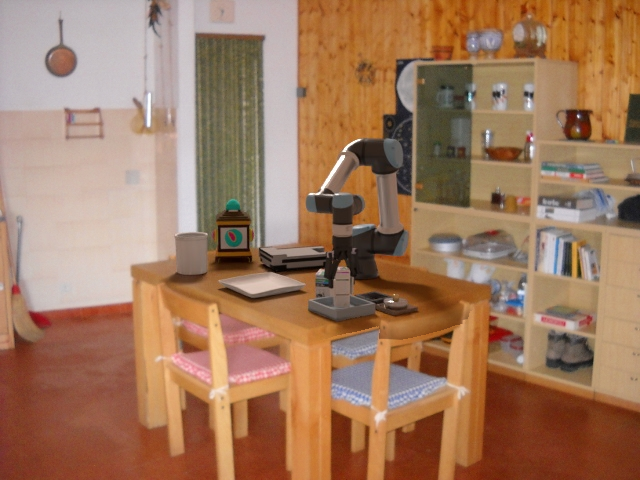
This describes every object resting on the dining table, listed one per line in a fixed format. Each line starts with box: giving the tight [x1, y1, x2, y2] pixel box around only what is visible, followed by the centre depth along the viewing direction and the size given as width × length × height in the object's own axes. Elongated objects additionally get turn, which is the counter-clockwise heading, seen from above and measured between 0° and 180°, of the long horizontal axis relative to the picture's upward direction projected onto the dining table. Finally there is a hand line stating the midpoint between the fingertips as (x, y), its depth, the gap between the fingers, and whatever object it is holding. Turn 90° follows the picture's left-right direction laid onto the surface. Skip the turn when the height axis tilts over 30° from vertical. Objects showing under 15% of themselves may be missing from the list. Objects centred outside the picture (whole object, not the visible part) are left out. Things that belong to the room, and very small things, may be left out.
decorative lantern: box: [212, 198, 255, 264], centre depth 378 cm, size 20×20×30 cm
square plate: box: [217, 271, 307, 299], centre depth 324 cm, size 27×27×4 cm
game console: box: [258, 245, 337, 273], centre depth 368 cm, size 21×32×8 cm, turn 112°
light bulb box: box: [314, 268, 330, 299], centre depth 310 cm, size 11×7×11 cm, turn 170°
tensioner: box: [353, 290, 419, 317], centre depth 299 cm, size 24×12×6 cm, turn 35°
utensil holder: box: [174, 231, 209, 276], centre depth 353 cm, size 15×15×18 cm
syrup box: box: [334, 266, 351, 308], centre depth 289 cm, size 6×6×14 cm
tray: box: [307, 294, 376, 322], centre depth 291 cm, size 18×18×4 cm
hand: (341, 294), depth 290 cm, fingers closed on syrup box, 8 cm apart
